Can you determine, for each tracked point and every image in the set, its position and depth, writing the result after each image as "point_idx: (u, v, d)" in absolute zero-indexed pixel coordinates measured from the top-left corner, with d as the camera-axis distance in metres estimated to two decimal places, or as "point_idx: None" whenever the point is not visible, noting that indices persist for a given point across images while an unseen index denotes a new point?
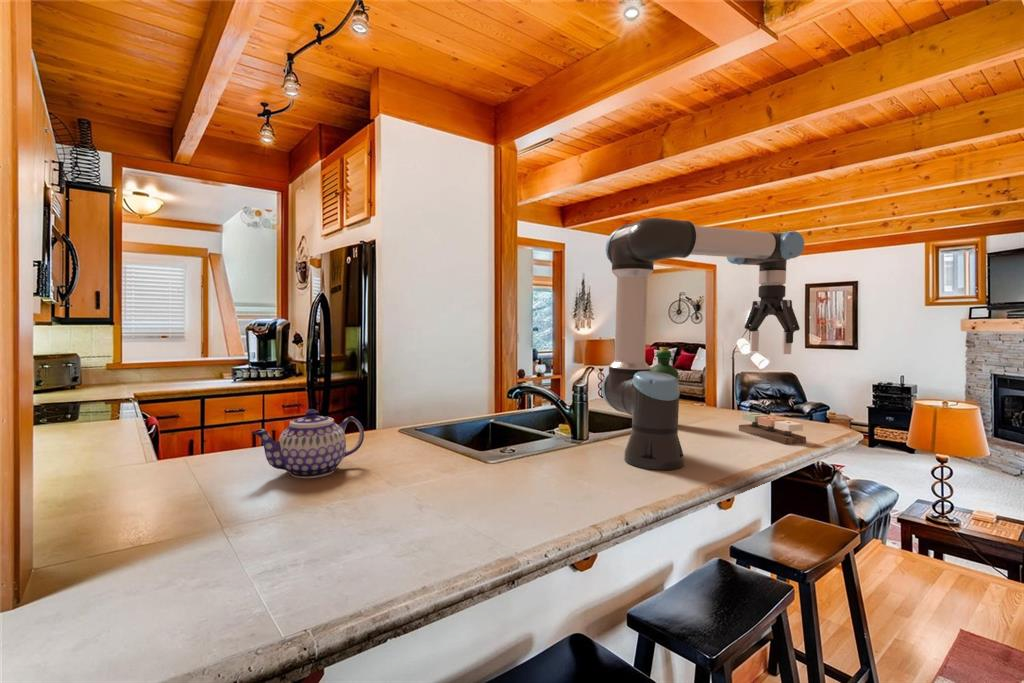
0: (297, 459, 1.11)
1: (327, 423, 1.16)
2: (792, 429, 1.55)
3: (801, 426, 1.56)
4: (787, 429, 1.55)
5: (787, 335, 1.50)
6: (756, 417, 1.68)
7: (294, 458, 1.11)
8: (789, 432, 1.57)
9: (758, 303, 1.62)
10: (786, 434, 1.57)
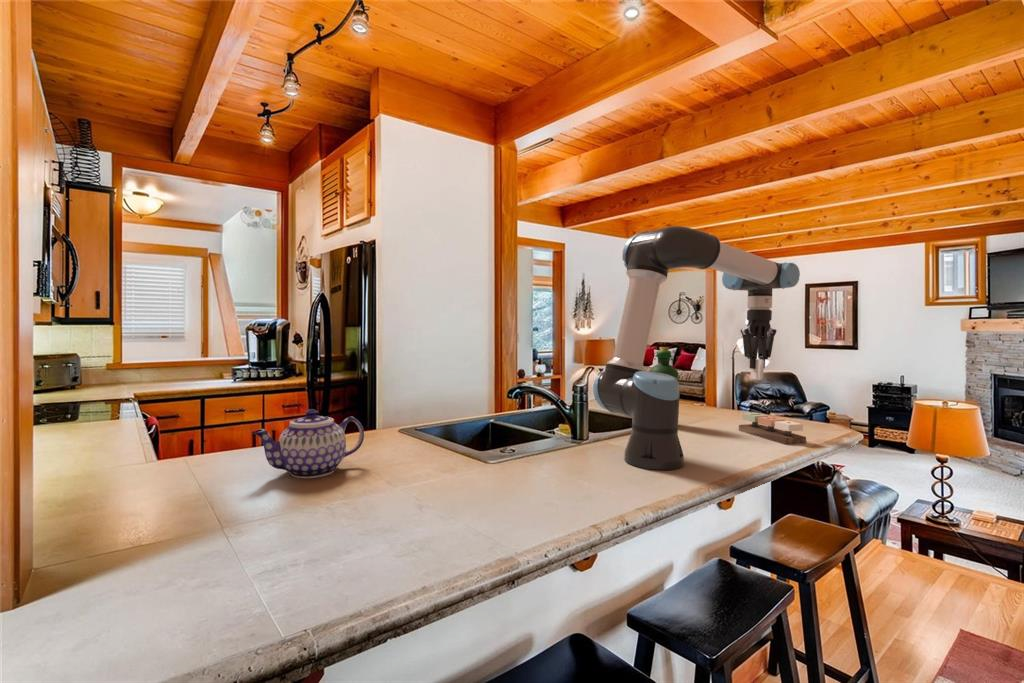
0: (297, 459, 1.11)
1: (327, 423, 1.16)
2: (792, 429, 1.55)
3: (801, 426, 1.56)
4: (787, 429, 1.55)
5: None
6: (756, 417, 1.68)
7: (294, 458, 1.11)
8: (789, 432, 1.57)
9: None
10: (786, 434, 1.57)
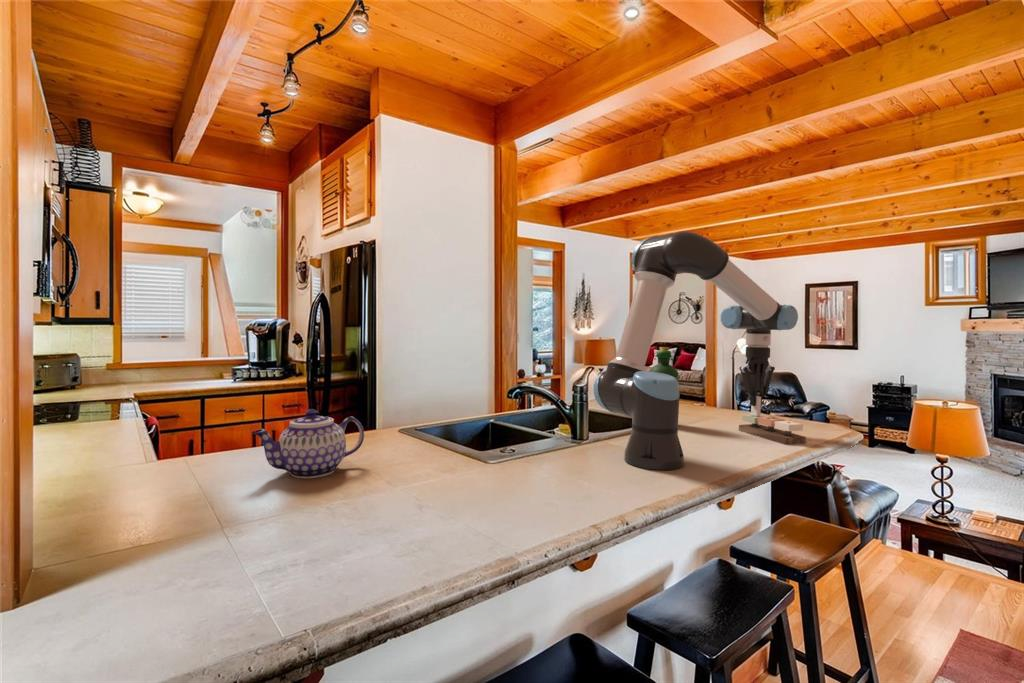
0: (297, 459, 1.11)
1: (327, 423, 1.16)
2: (792, 429, 1.55)
3: (801, 426, 1.56)
4: (787, 429, 1.55)
5: None
6: (756, 419, 1.68)
7: (294, 458, 1.11)
8: (789, 432, 1.57)
9: None
10: (786, 434, 1.57)
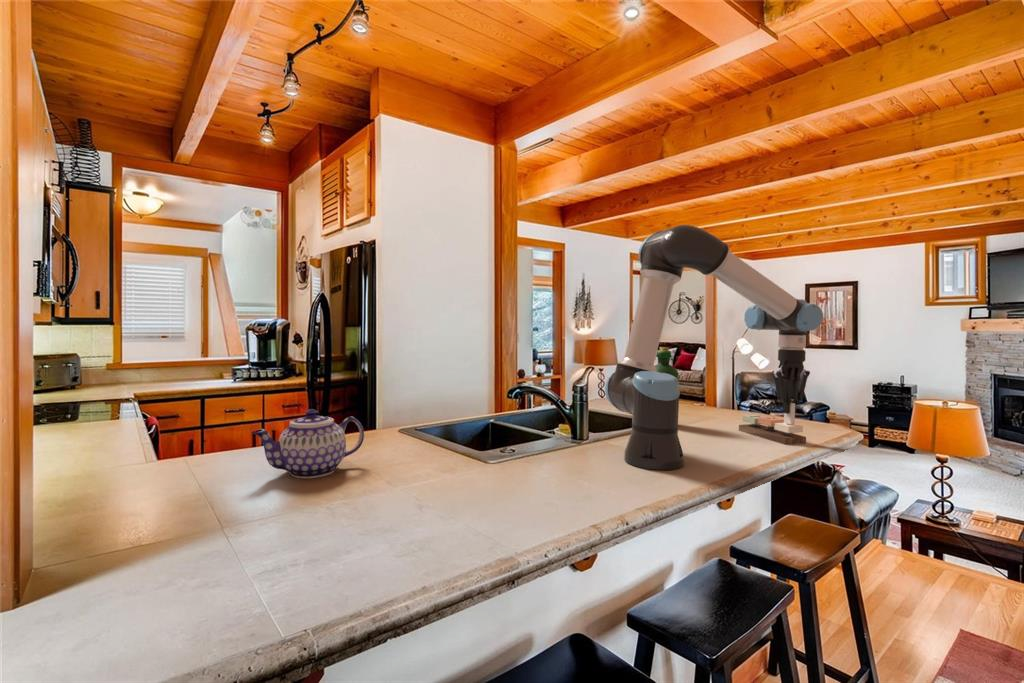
0: (297, 459, 1.11)
1: (327, 423, 1.16)
2: (792, 431, 1.55)
3: (801, 428, 1.56)
4: (787, 431, 1.55)
5: None
6: (756, 419, 1.68)
7: (294, 458, 1.11)
8: (789, 434, 1.57)
9: None
10: None
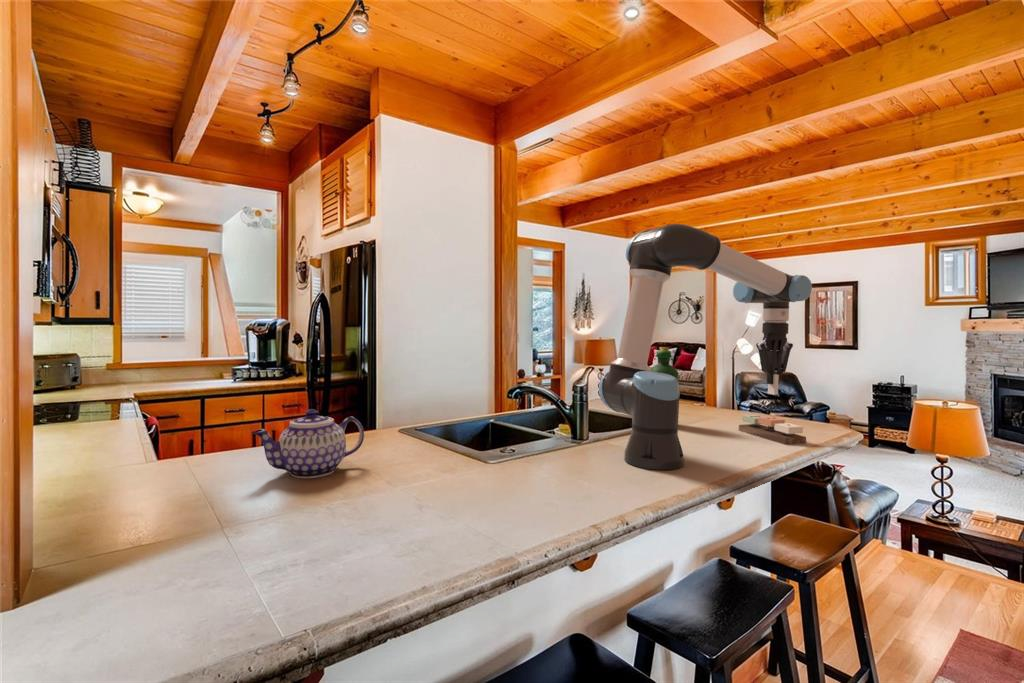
0: (297, 459, 1.11)
1: (327, 423, 1.16)
2: (792, 431, 1.55)
3: (801, 428, 1.56)
4: (787, 431, 1.55)
5: None
6: (756, 419, 1.68)
7: (294, 458, 1.11)
8: (789, 434, 1.57)
9: None
10: None
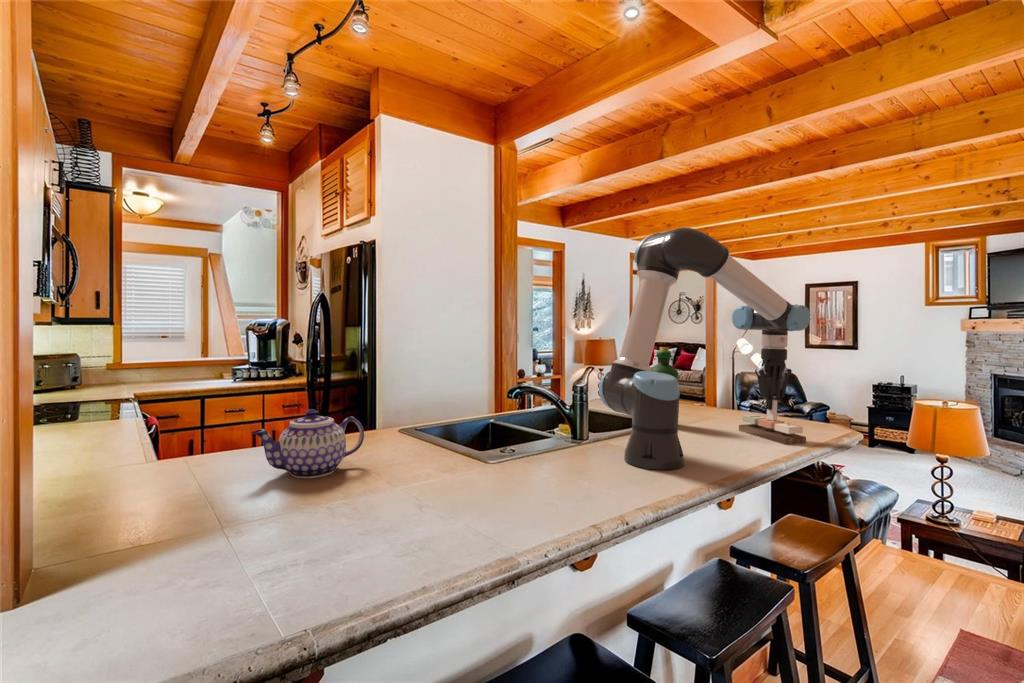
0: (297, 459, 1.11)
1: (327, 423, 1.16)
2: (792, 431, 1.55)
3: (801, 428, 1.56)
4: (787, 431, 1.55)
5: None
6: (756, 419, 1.68)
7: (294, 458, 1.11)
8: (789, 434, 1.57)
9: None
10: None
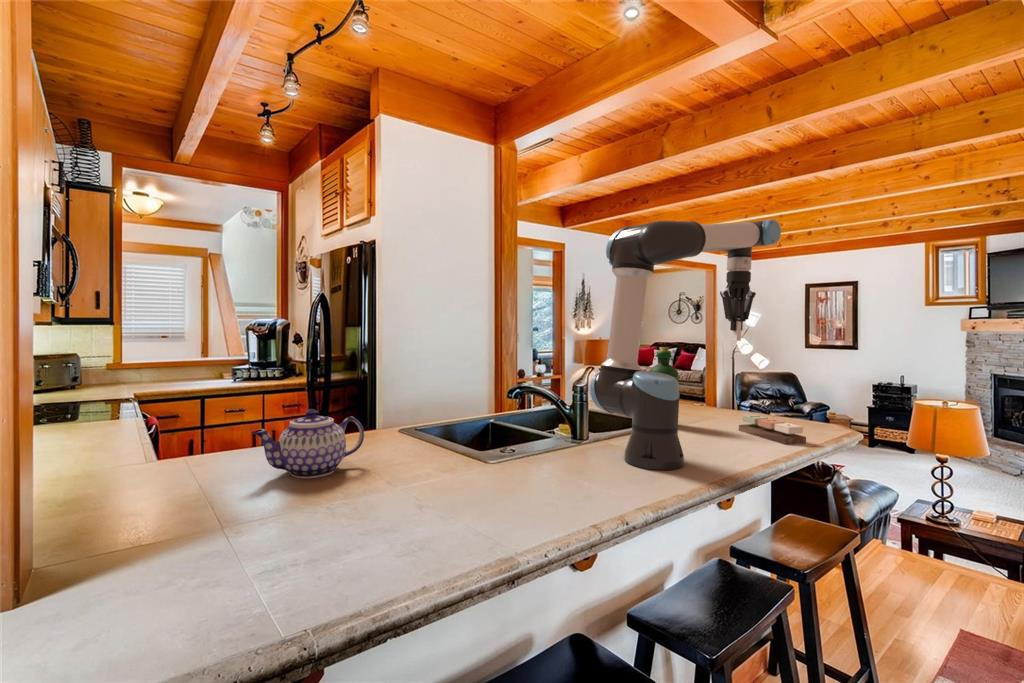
0: (297, 459, 1.11)
1: (327, 423, 1.16)
2: (792, 431, 1.55)
3: (801, 428, 1.56)
4: (787, 431, 1.55)
5: None
6: (756, 419, 1.68)
7: (294, 458, 1.11)
8: (789, 434, 1.57)
9: None
10: None
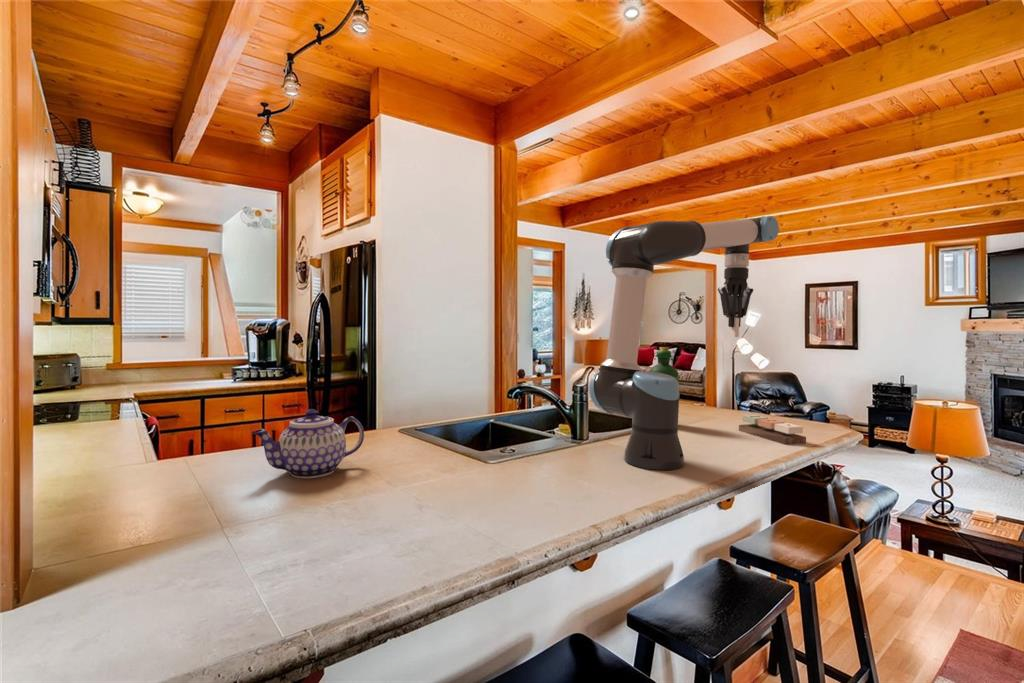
0: (297, 459, 1.11)
1: (327, 423, 1.16)
2: (792, 431, 1.55)
3: (801, 428, 1.56)
4: (787, 431, 1.55)
5: None
6: (756, 419, 1.68)
7: (294, 458, 1.11)
8: (789, 434, 1.57)
9: None
10: None
